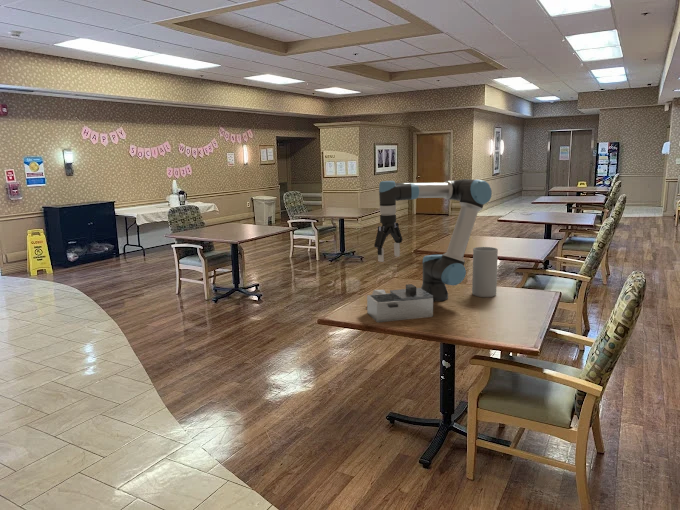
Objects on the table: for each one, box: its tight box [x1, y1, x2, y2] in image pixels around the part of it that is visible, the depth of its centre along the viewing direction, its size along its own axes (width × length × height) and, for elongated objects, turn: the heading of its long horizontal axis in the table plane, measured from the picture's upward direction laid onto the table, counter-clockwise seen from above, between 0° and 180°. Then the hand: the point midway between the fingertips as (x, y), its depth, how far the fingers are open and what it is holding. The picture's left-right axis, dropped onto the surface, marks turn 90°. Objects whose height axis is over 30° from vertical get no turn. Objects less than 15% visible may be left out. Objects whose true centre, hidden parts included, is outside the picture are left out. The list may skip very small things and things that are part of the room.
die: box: [371, 289, 387, 295], centre depth 263 cm, size 8×9×10 cm
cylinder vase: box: [471, 246, 499, 298], centre depth 277 cm, size 12×12×25 cm
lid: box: [389, 283, 433, 301], centre depth 247 cm, size 16×16×4 cm
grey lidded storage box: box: [366, 292, 434, 323], centre depth 247 cm, size 28×19×9 cm
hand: (389, 258), depth 247 cm, fingers open, 13 cm apart
